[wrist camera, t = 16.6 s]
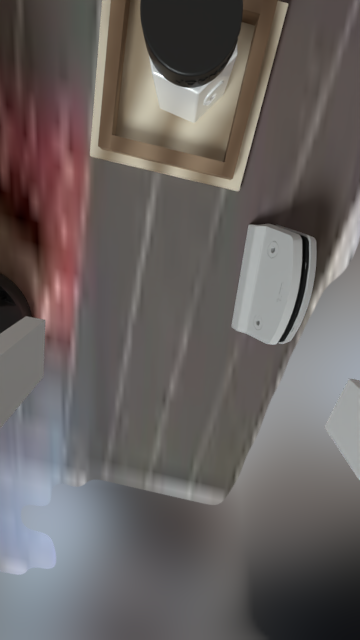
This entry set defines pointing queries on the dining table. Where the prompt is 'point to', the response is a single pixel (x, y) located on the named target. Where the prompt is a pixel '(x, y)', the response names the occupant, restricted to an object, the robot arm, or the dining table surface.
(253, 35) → the jar stand
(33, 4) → the dining table surface
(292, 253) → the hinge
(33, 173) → the dining table surface
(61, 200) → the dining table surface
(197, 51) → the jar
